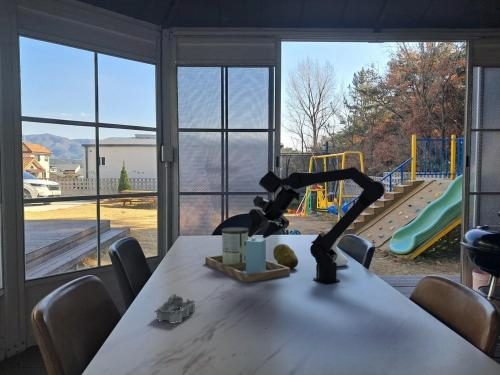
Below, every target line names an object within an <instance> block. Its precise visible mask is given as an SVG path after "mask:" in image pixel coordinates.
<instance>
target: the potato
mask: <svg viewBox="0 0 500 375" xmlns="http://www.w3.org/2000/svg"><path fill="white" fill-rule="evenodd" d="M272 252H273V258H274V260H275V261H276V263H277V264H280V265H283V266H286V267H288V268H290V270H293V269H295V268H296V267H298V264H299V259H298V256H297V255H296V253H295V250H293V249H292V248H291V247H290V246H289V245H287V244H286V243H279V244H277V245H276V246H275V247H274V248H273V251H272Z"/></svg>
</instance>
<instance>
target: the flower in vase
mask: <svg viewBox="0 0 500 375" xmlns="http://www.w3.org/2000/svg"><path fill="white" fill-rule="evenodd" d="M332 204H333V207H334V208H335V211H334V214H333V215H332V217H331V224H330V226H332V228H333V227H334V226H335V224H336V223H337V222H338V221H336V220H335V221H334V217H335V214H336V213H338V215H339V216H340V218H342V217H343V216H344V215H345V212H344V211H343V209H342V206H341V205H339V202H338V201H337V200H333V201H332ZM332 228H328V229H326V231H327V233H328V232H329V231H330V230H331V229H332ZM332 249H333V250H334V251H335V252H336V253H337V254H338V256H337V258H336V260H335V261H334V262H335V263H337V267H343V266H346V265H347V264H348V263H349V260H348V258H347V257H346V256H345V254H343V253H342V252H341V251H340V250H339V249H338V247H337V242H336V243H335V245H334V246H333V248H332Z"/></svg>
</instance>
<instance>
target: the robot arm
mask: <svg viewBox="0 0 500 375" xmlns="http://www.w3.org/2000/svg"><path fill="white" fill-rule="evenodd" d="M346 180H347V181H349V180H351V181H352V182H354V183H355V184H356V185H357V186H358V187H359V188H361V189H362V191H361V193H360V195H359V196H358V198H357V200H356V201H355V203H353V205H352V206H351V207H350V208H349V209H348V210H347V211H346V212H345V213H344V216H343V217H340V219H339V220H337V221H336V222H337V223H336V224H335V225H334V226H333V228H330V229H331V230H330V231H329V232H328V231H327V232H326V233H325V231H321V232H320V233H319V234H318V235H317V236H316V238H315V239H314V240H312V241H311V242H310V243H311V246H310V248H309V249H310V254H311V256H312V257H313V258H314V259H315V262H316V263H315V264H316V265H315V268H316V269H315V277H312V278H313V281H316V282H319V283H322V284H325V285H328V284H329V285H330V284H333V283H339V282H341V280H340V279H339V278H337V277H338V276H337V275H338V274H337V271H338V268H337V267H338V266H337V263H335V262H334V261H335V260H336V258H337V256H338V254H337V253H336V252H335V251H334V250H333V249H332V248H333V246H334V245H335V243H336V244H337V241H338V240H339V238H340V237H341V236H342V235H343V234H344V233H345V231H347V229H348V228H349V227H350V226H351V225H352V224H353V223H354V222H355V221H356V220H357V219H358V218H359V217H360V215H361V214H362V213H363V212H364V211H365V210H366V209H367V208H369V207H370V206H371V205H373V204H374V203H375V202H376V201H378V200H380V199H381V198H382V197H383V196H384V195H385V193H386V190H387V189H386V185H385V184H384V182H382V181H380V180H377V179H376V180H374V179H373V178H372V177H370V176H368V175H367V174H366V173H364V171H361V170H360V168H358V167H356V166H351V167H347V168H342V169H334V170H326V171H320V172H308V171H307V172H306V171H299V172H297V171H294V172H291V173H290V174H289V175H288V177H284V178H283V177H281V176H279V175H278V174H277V173H276V172H275V171H274V170H273V169H270V170H269V171H268V172H266V174H264V175H263V176H262V177H261V179H260V180H259V182H258V186H260V187H261V188H263V189H264V191H266V192H267V193H268V194H270V195H273V194H275V197H274V199H272V198H271V199H269V200H267V199H265V198H264V197H263V196H261V195H256V196H255V197H254V199H252V201H253V207H258V208H259V209H257V208H251V209H249V212H248V213H247V214H248V216H249V218H250V220H251V222H250V226H249V228H248V229H249V231H248V238H252V237H254V236H255V234H257V233H259V232H260V231H261V230H263V228H265V226H266V225H267V224H268V222H269V225H268V226H267V227H266V230H265V231H264V232H263V235H262V239H266V238H269V237H270V236H272V235H274V234H276V233H278V232H280V231H282V230H284V229H288V227H289V226H290V220H289V219H288V218H287V217H286V216H285V215H284V214H288V213H289V210H288V209H289V207H290V206H291V205H292V204H293V202H294V201H295V200H297V201H298V202H299V201H301V200H303V198H302V192H300V191H298V192H297V191H296V190H300V189H305V188H308V187H311V186H314V185H317V184H322V183H332V182H338V181H346ZM287 186H288V187H287Z"/></svg>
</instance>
